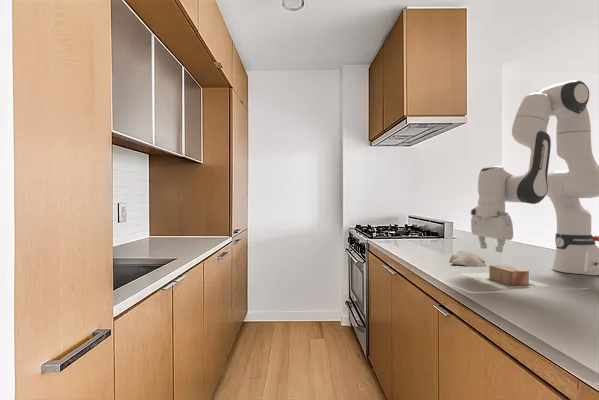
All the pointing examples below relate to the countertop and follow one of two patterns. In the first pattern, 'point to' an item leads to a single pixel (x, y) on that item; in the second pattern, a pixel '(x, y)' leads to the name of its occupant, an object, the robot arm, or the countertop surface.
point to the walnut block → (509, 275)
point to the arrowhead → (467, 259)
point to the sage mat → (485, 279)
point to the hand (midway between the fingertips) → (491, 250)
